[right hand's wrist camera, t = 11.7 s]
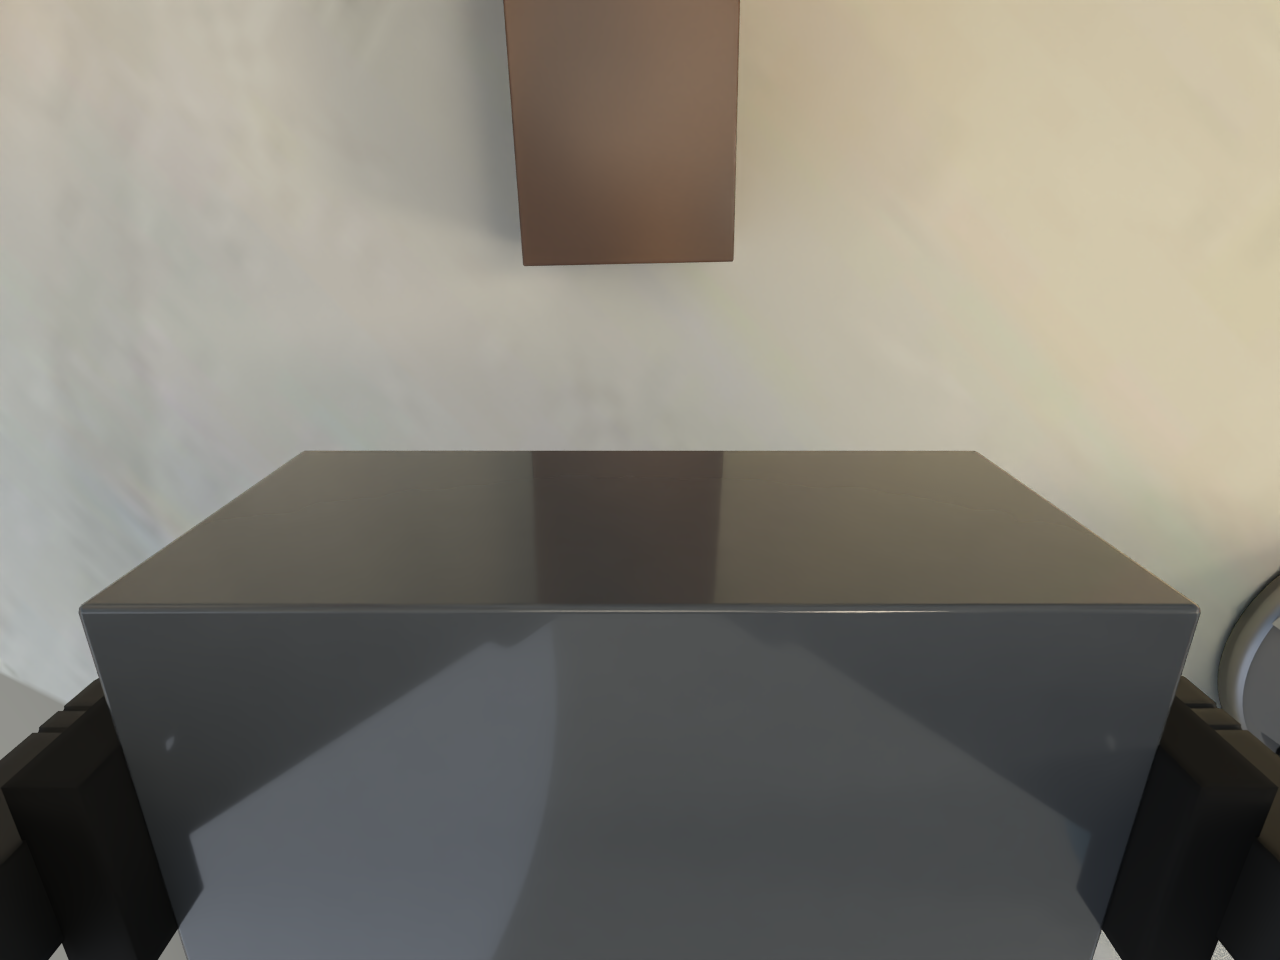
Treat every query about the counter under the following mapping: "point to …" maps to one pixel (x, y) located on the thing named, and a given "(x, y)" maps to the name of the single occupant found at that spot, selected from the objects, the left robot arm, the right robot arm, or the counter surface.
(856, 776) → the grey block
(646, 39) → the walnut stand
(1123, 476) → the counter surface
